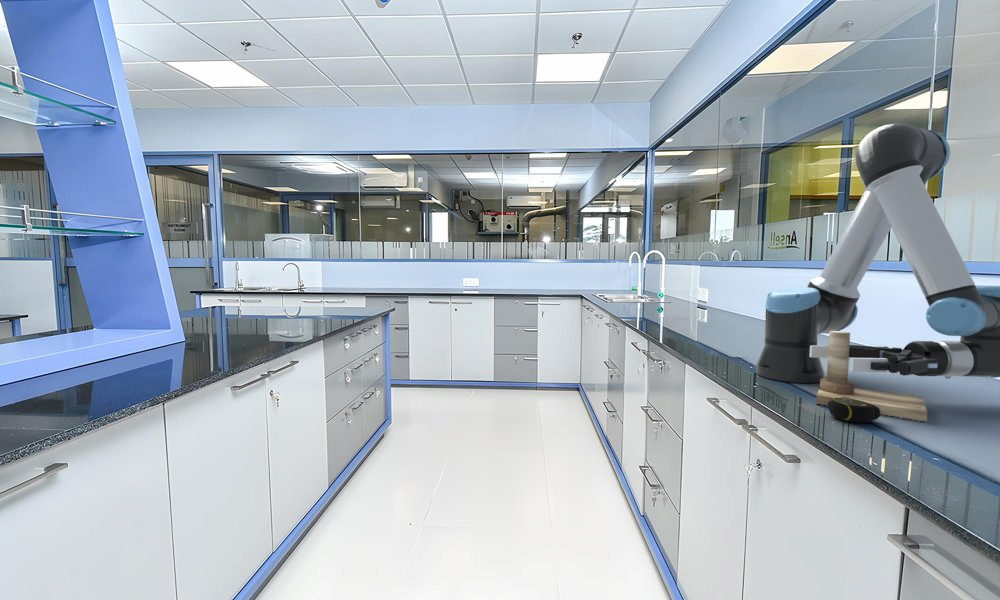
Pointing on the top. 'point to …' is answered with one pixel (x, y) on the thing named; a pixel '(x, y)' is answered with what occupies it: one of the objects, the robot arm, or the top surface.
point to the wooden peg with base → (838, 365)
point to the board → (883, 402)
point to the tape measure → (853, 410)
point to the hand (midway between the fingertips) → (829, 357)
